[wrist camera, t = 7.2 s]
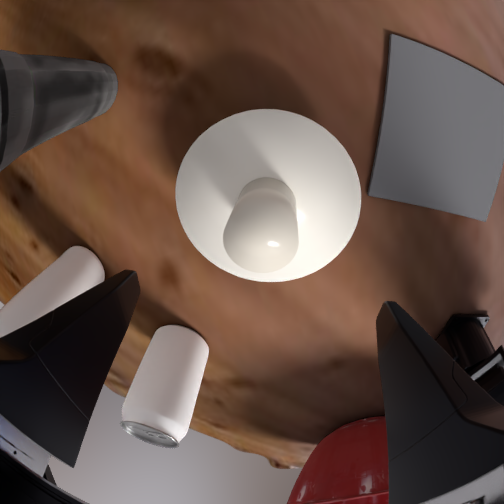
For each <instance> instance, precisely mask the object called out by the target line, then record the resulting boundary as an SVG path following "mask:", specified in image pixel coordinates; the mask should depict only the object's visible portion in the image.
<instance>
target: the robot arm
mask: <svg viewBox="0 0 504 504" xmlns="http://www.w3.org/2000/svg"><path fill="white" fill-rule="evenodd" d="M139 294H140V286H139V281H138V277H137V273H136V272H135V271H133V270H124V271H122V272H120V273H118V274H116V275H114V276H113V277H111V278H109V279H107V280H105V281H103V282H102V283H100V284H98V285H96V286H94V287H92V288H91V289H89V290H87V291H85V292H83V293H82V294H80V295H78V296H76V297H75V298H73V299H71V300H69V301H68V302H66V303H64V304H62V305H61V306H59V307H57V308H55V309H54V310H52V311H50V312H49V313H47V314H45V315H43V316H42V317H40V318H38V319H36V320H34V321H33V322H31V323H29V324H27V325H25V326H23V327H21V328H19V329H17V330H15V331H13V332H11V333H9V334H7V335H5V336H3V337H1V338H0V504H89V503H87V502H85V501H83V500H81V499H79V498H77V497H75V496H73V495H71V494H70V493H68V492H66V491H64V490H62V489H61V488H59V487H57V485H56V483H55V480H54V478H53V475H52V473H51V470H50V467H49V465H48V462H49V459H50V457H51V456H53V457H54V458H56V459H57V460H59V461H61V462H63V463H65V464H66V465H68V466H70V467H72V468H74V466H75V463H76V460H77V457H78V454H79V451H80V447H81V444H82V441H83V439H84V436H85V432H86V430H87V427H88V424H89V421H90V418H91V415H92V413H93V410H94V407H95V405H96V402H97V400H98V397H99V394H100V392H101V389H102V387H103V384H104V382H105V379H106V377H107V375H108V372H109V370H110V367H111V365H112V363H113V360H114V358H115V356H116V353H117V351H118V349H119V347H120V344H121V342H122V340H123V338H124V336H125V333H126V331H127V329H128V326H129V323H130V320H131V317H132V315H133V312H134V309H135V306H136V303H137V300H138V297H139ZM488 321H489V316H488V315H467V314H455V315H453V316H452V317H451V318H450V320H449V321H448V323H447V325H446V326H445V328H444V329H443V331H442V333H441V334H440V336H439V337H438V339H437V340H436V341H435V340H434V339H433V338H432V337H431V336H430V335H429V334H428V333H427V332H426V331H425V330H424V329H423V328H422V327H421V326H420V325H419V324H418V323H417V322H416V321H415V320H414V319H413V318H412V317H411V316H410V315H409V314H408V313H407V312H406V311H405V310H404V309H402V308H401V307H400V306H399V305H398V304H397V303H396V302H394V301H385V302H384V303H383V305H382V307H381V310H380V312H379V314H378V316H377V319H376V330H377V347H378V361H379V369H380V376H381V383H382V391H383V399H384V408H385V419H386V430H387V445H388V461H389V462H388V472H389V504H504V348H503V346H502V345H501V346H500V347H499V348H498V349H497V350H496V351H495V349H494V347H493V345H492V343H491V341H490V339H489V337H488V335H487V333H486V332H485V330H484V327H485V325H486V324H487V322H488Z"/></svg>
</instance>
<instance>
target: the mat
mask: <svg viewBox="0 0 504 504" xmlns="http://www.w3.org/2000/svg"><path fill="white" fill-rule="evenodd" d="M503 162H504V85H502V84H500V83H499V82H497V81H496V80H494V79H492V78H491V77H489V76H487V75H485V74H484V73H482V72H480V71H478V70H476V69H475V68H473V67H471V66H469V65H467V64H465V63H463V62H461V61H459V60H457V59H455V58H453V57H451V56H448V55H446V54H444V53H442V52H440V51H437V50H435V49H432V48H430V47H428V46H425V45H422V44H420V43H417V42H414V41H412V40H409V39H406V38H403V37H400V36H397V35H394V34H390V38H389V54H388V66H387V77H386V86H385V95H384V102H383V110H382V117H381V124H380V130H379V136H378V142H377V148H376V153H375V158H374V164H373V169H372V174H371V178H370V183H369V188H368V192H367V194H368V196H372V197H378V198H383V199H389V200H394V201H399V202H404V203H409V204H414V205H418V206H423V207H428V208H432V209H436V210H441V211H445V212H449V213H453V214H457V215H461V216H465V217H469V218H473V219H477V220H480V221H484V222H486V219H487V217H488V214H489V211H490V208H491V205H492V202H493V199H494V195H495V192H496V189H497V185H498V181H499V178H500V174H501V170H502V166H503Z"/></svg>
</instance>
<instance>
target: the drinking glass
mask: <svg viewBox="0 0 504 504" xmlns="http://www.w3.org/2000/svg"><path fill="white" fill-rule="evenodd" d="M104 280H105V272H104V268H103V266H102V264H101V262H100V260H99V259H98V258H97V256H96V255H95V254H94V253H93V252H91V251H90V250H89V249H87V248H85V247H82V246H73V247H70V248H69V249H67V250H66V251H65V252H64V253H63V254H62V255H61V256H60V257H59V258H58V259H57V260H55V261H54V262H53V263H52V264H51V265H49V266H48V267H47V268H46V269H45V270H43V271H42V272H41V273H40V274H39V275H38V276H36V277H35V278H34V279H33V280H32V281H31V282H30V283H28V284H27V285H26V286H25V287H24V288H23V289H22V290H20V291H19V292H18V293H17V294H16V295H15V296H14V297H13V298H12V299H11V300H10V301H9V302H8V303H6V304H5V305H4V307H3V308H2V309H1V310H0V338H1V337H3V336H5V335H7V334H9V333H11V332H13V331H15V330H17V329H19V328H21V327H23V326H25V325H27V324H29V323H31V322H33V321H34V320H36V319H38V318H40V317H42V316H43V315H45V314H47V313H49V312H50V311H52V310H54V309H55V308H57V307H59V306H61V305H62V304H64V303H66V302H68V301H69V300H71V299H73V298H75V297H76V296H78V295H80V294H82V293H83V292H85V291H87V290H89V289H91V288H92V287H94V286H96V285H98V284H100V283H102V282H103V281H104Z"/></svg>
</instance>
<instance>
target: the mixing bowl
mask: <svg viewBox="0 0 504 504" xmlns="http://www.w3.org/2000/svg"><path fill="white" fill-rule="evenodd" d="M388 462H389V461H388V445H387V430H386V419H385V416H381V417H372V418H366V419H362V420H358V421H355V422H351V423H349V424H346V425H344V426H342V427H340V428H338V429H336V430H335V431H334V432H332V433H331V434H329V435H328V436H326V437H325V438H324V439H323V440H322V441H320V443H319V444H318V445H317V446H316V448H315V449H314V450H313V452H312V453H311V455H310V457H309V458H308V460H307V462H306V463H305V465H304V467H303V469H302V471H301V473H300V475H299V477H298V479H297V481H296V483H295V485H294V487H293V490H292V492H291V495H290V497H289V500H288V502H287V504H389V472H388Z"/></svg>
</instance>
